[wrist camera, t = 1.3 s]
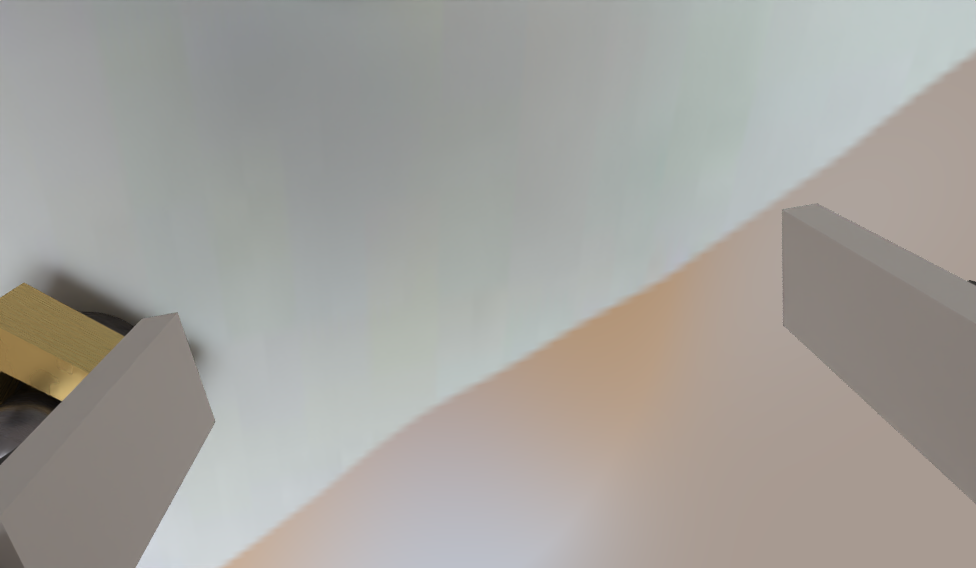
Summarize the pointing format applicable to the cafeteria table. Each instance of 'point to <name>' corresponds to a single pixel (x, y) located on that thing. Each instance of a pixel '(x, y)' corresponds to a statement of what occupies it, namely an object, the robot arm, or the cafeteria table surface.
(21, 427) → the dark grey round-headed cylinder
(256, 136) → the cafeteria table surface
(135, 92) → the cafeteria table surface
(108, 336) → the gold square ring
